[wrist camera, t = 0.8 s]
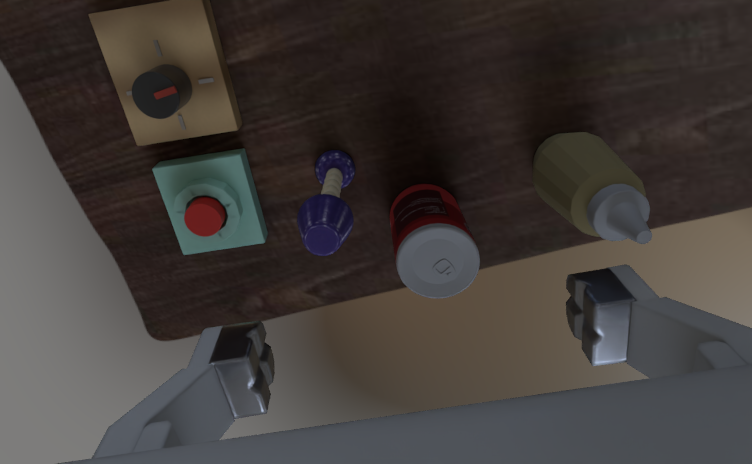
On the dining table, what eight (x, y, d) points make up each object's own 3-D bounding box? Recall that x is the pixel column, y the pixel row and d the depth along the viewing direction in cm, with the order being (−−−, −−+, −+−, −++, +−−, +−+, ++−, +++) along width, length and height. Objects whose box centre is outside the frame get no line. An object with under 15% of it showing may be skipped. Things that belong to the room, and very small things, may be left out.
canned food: (435, 255, 60) (452, 311, 50) (375, 226, 58) (380, 278, 48) (473, 201, 57) (497, 249, 47) (410, 168, 55) (423, 212, 45)
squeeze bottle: (517, 133, 54) (587, 203, 38) (595, 112, 53) (700, 175, 37) (526, 202, 57) (594, 292, 41) (599, 183, 57) (697, 268, 41)
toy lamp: (311, 188, 56) (295, 268, 41) (307, 146, 54) (290, 214, 39) (356, 186, 56) (356, 266, 41) (354, 145, 54) (354, 212, 39)
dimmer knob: (161, 114, 49) (145, 126, 45) (139, 72, 47) (120, 81, 43) (200, 100, 48) (187, 111, 45) (179, 57, 47) (163, 65, 43)
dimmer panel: (100, 11, 47) (86, 14, 45) (207, -7, 47) (200, -5, 44) (146, 138, 52) (136, 147, 50) (243, 123, 52) (237, 130, 50)
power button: (184, 199, 52) (179, 206, 50) (219, 194, 52) (215, 201, 50) (195, 231, 53) (190, 239, 52) (229, 226, 53) (225, 233, 52)
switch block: (159, 161, 54) (145, 175, 50) (244, 148, 53) (236, 160, 50) (189, 245, 58) (178, 263, 55) (268, 233, 58) (262, 250, 54)
